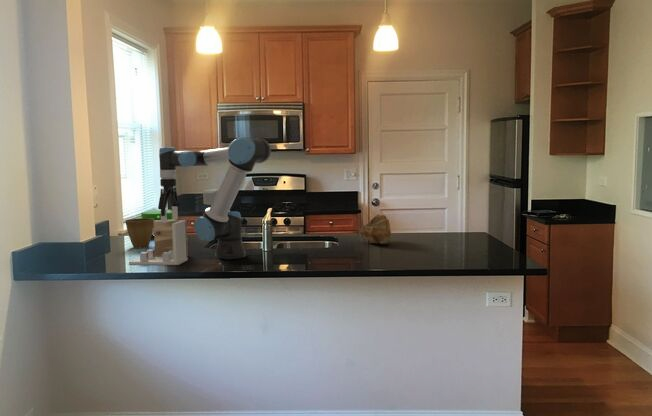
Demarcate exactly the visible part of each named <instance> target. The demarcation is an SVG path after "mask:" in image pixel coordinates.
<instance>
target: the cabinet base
mask: <svg viewBox="0 0 652 416" xmlns="http://www.w3.org/2000/svg"><path fill="white" fill-rule="evenodd" d="M172 236H173V250H169V252H164V253H162V255H163V257H155V248H153V249H146V252H145V251H142V252H139V257H137V258H135V259H133V260H130V261H129V262H128V264H129V265H138V266H139V265H141V266H142V265H144V266H145V265H146V266H147V265H150V266H151V265H152V266H153V265H158V266H171V265H172V266H180V265H181V264H183V263H185V262H187V261H188V260H189V257H188V256H187V257H186V235H185V219H183V220H182V221H179V222H176V223H173V224H172Z"/></svg>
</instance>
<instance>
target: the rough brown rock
mask: <svg viewBox="0 0 652 416" xmlns="http://www.w3.org/2000/svg"><path fill="white" fill-rule="evenodd" d="M359 234H360V235H361V238H362V240H364V241H366V242H367V241H370V242H372V243H374V244H376V245H377V244H379V243H380V244H382V245H387V244H389V243H391V241H392V230H391V224H390V220H389V218H387V216H386V215H385V214H376V215H374V217H372V219H371V220H370V221H369V222H368V223H366V224H364V225H362V226H361V228H360V229H359Z"/></svg>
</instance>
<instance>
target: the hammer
mask: <svg viewBox="0 0 652 416" xmlns="http://www.w3.org/2000/svg"><path fill="white" fill-rule="evenodd" d="M218 190H219V188H217V189H215V188H213V189H206V190H205V189H204V190H203V193H202V194H203V198H202V199H203V205H207V206H208V205H209V206H211V205H212V203H213V201H214V198H215V196H216V194H217V192H218Z"/></svg>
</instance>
